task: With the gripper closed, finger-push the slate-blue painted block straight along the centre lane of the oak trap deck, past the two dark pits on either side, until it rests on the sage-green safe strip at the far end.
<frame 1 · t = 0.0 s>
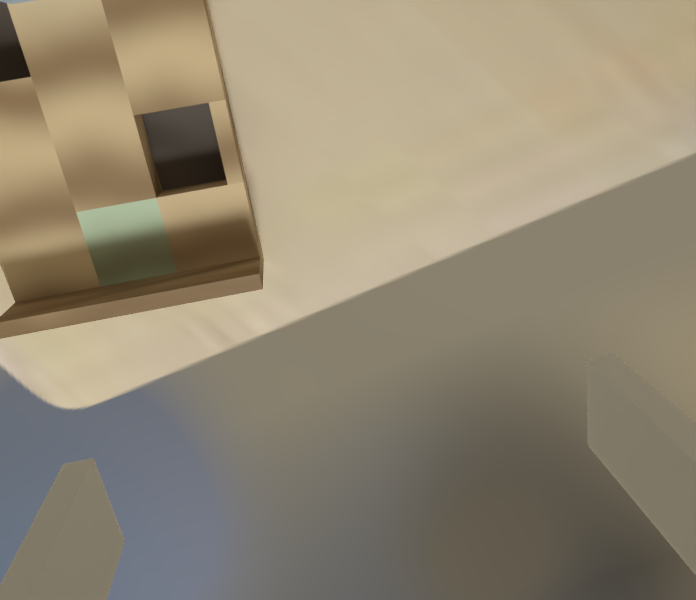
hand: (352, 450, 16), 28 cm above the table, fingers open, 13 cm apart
trap deck: (97, 102, 38), on the table
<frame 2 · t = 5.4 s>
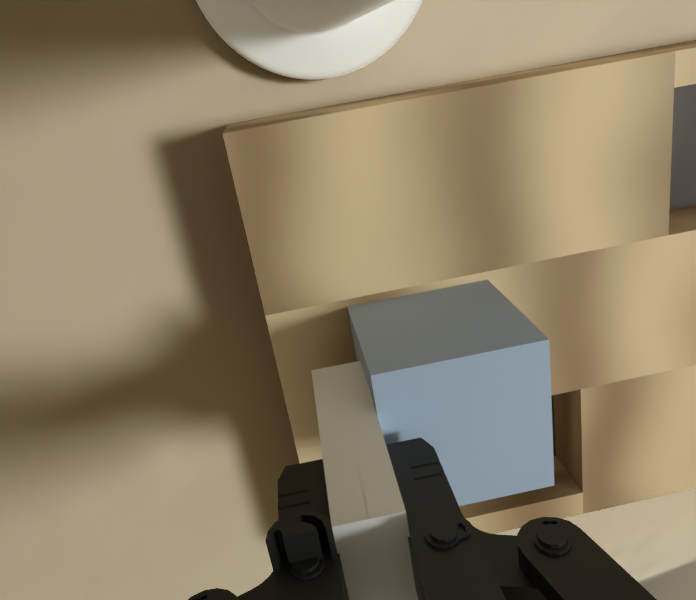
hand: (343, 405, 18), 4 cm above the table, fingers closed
block: (425, 356, 20), point 2 cm above the table, touching gripper, trap deck
trap deck: (599, 287, 23), on the table
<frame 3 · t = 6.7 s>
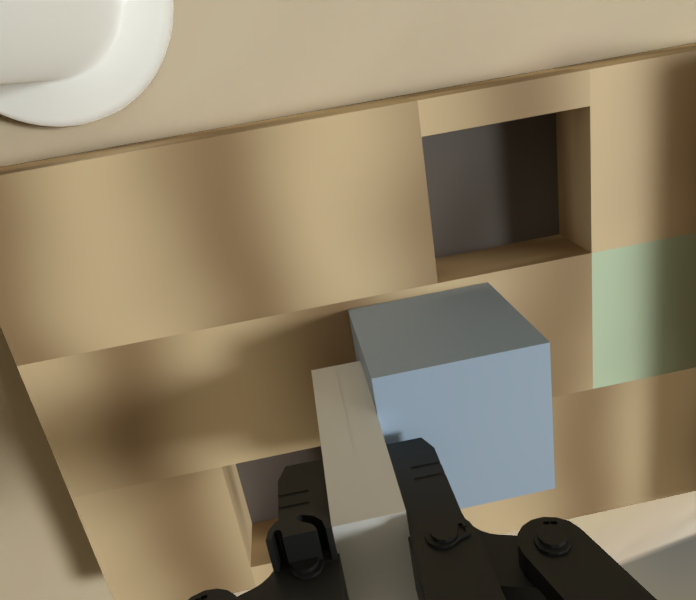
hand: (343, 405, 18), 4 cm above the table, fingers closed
block: (426, 359, 20), point 3 cm above the table, touching gripper
trap deck: (400, 329, 22), on the table
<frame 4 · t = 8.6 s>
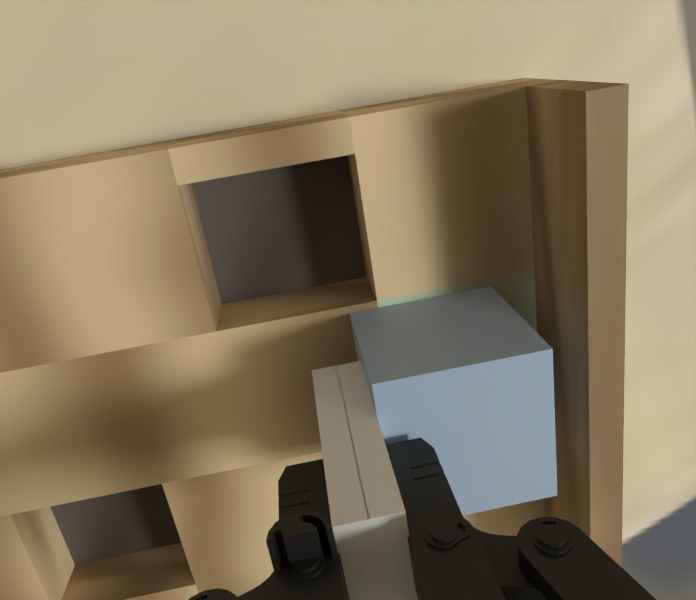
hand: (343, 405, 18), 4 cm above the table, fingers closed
block: (428, 363, 20), point 3 cm above the table, touching gripper, trap deck
trap deck: (210, 371, 22), on the table
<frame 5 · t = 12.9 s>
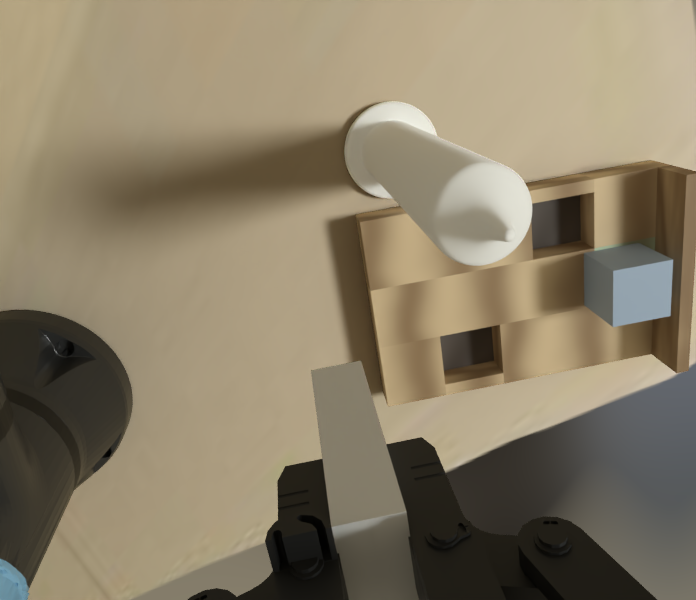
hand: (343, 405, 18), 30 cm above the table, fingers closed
block: (611, 274, 49), point 2 cm above the table, touching trap deck
trap deck: (510, 281, 51), on the table
candle: (390, 150, 46), on the table
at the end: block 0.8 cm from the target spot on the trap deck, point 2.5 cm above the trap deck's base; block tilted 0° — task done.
